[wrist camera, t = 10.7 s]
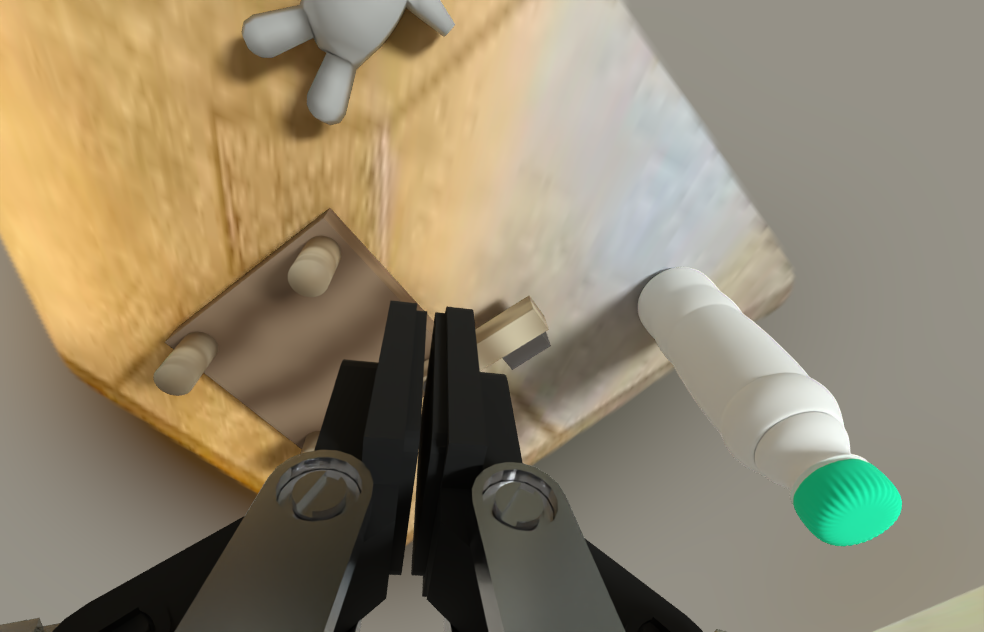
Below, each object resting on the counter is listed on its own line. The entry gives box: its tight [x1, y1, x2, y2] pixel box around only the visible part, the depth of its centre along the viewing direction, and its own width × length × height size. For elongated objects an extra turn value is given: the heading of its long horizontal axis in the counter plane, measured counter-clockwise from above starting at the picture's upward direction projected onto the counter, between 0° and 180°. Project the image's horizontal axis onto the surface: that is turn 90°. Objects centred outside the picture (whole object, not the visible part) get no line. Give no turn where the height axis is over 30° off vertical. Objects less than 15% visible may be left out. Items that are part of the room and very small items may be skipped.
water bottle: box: [638, 267, 902, 546], centre depth 37 cm, size 7×7×25 cm
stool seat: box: [153, 208, 551, 454], centre depth 43 cm, size 19×26×8 cm
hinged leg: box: [423, 296, 549, 392], centre depth 44 cm, size 12×2×3 cm, turn 124°
